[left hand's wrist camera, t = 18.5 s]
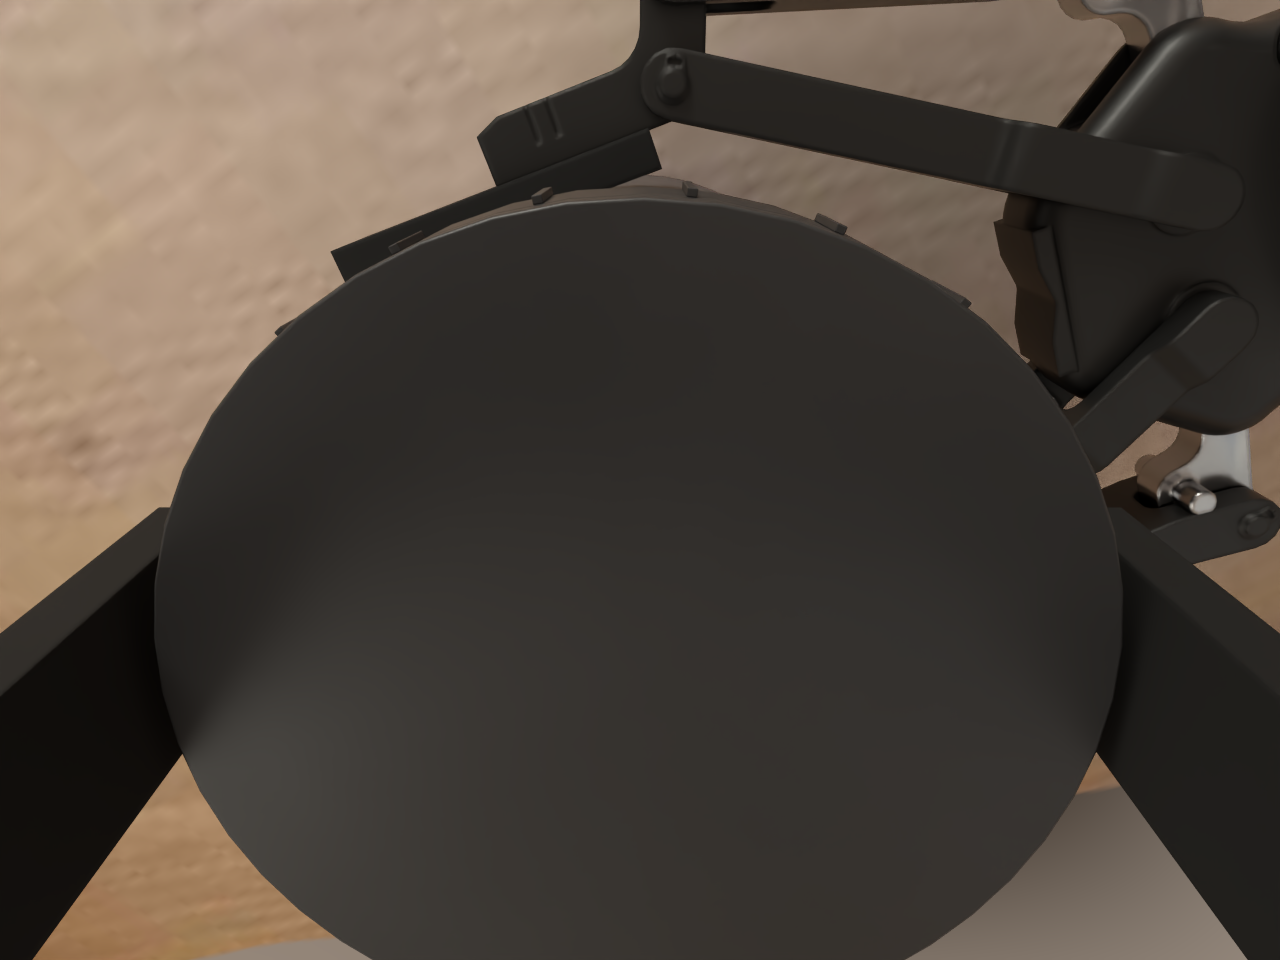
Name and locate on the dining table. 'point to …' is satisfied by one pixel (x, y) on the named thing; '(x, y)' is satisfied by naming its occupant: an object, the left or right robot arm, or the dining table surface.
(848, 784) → the lid
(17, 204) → the dining table surface
